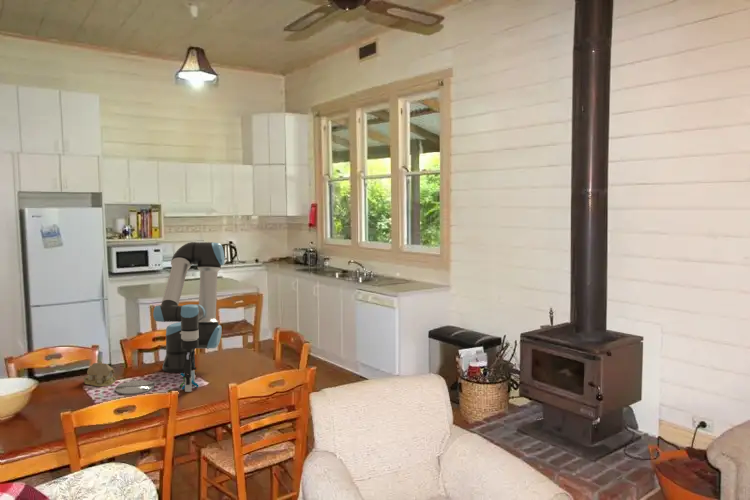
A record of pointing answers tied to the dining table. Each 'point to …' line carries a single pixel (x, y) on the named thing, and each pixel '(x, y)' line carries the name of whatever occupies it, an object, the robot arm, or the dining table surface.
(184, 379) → the gear
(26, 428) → the dining table surface
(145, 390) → the hub plate
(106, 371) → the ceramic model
